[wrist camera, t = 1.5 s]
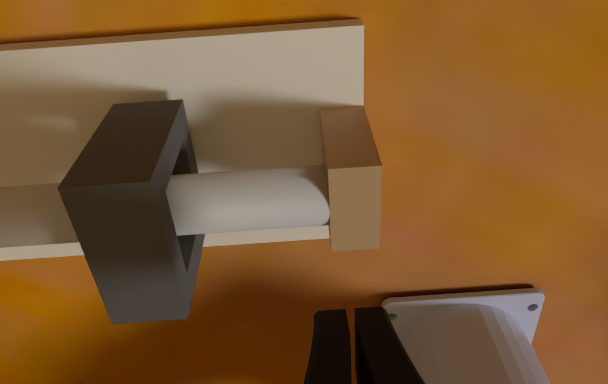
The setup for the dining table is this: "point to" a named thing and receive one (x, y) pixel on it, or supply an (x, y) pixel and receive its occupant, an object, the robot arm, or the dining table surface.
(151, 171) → the grey square collar
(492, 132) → the dining table surface
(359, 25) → the pipe rig
